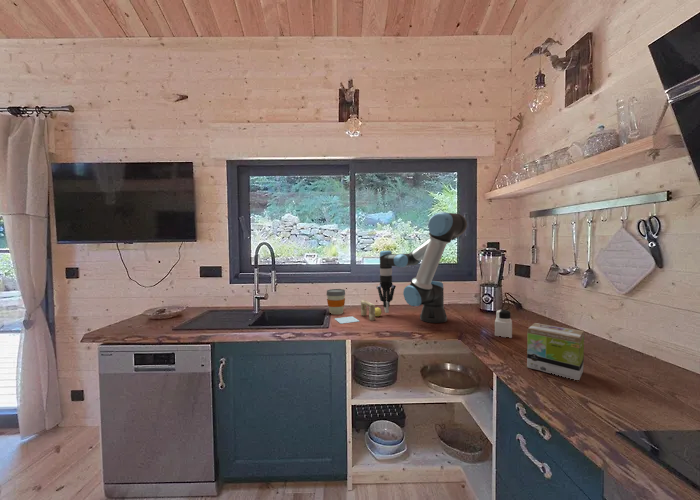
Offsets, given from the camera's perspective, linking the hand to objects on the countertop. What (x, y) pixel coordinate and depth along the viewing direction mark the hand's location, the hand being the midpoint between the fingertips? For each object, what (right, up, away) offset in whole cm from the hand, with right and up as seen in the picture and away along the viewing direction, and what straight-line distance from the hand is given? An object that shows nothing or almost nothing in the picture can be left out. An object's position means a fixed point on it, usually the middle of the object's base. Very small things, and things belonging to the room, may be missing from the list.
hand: (386, 312), depth 181 cm
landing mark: (-25, -3, -10) cm, 27 cm away
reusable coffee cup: (-32, -3, +9) cm, 34 cm away
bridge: (-12, -2, -5) cm, 13 cm away
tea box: (+49, -3, -81) cm, 95 cm away
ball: (-6, +1, -2) cm, 7 cm away
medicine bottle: (+51, -2, -43) cm, 67 cm away
